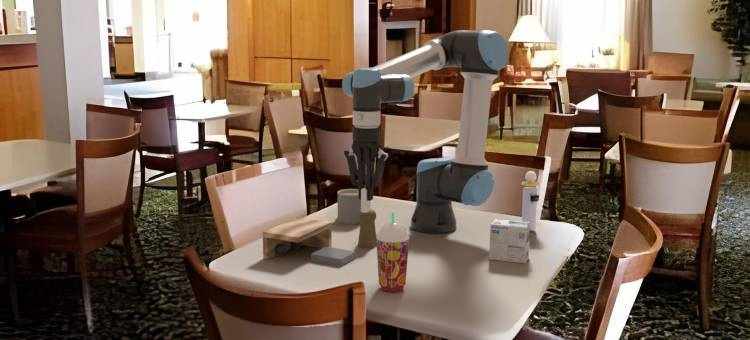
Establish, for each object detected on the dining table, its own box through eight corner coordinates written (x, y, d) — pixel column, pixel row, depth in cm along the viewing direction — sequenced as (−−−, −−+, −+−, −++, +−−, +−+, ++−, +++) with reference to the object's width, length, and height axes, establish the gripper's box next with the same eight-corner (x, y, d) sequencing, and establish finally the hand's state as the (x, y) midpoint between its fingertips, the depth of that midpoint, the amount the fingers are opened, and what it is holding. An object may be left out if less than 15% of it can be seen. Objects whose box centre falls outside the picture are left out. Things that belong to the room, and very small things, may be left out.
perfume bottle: (515, 230, 237) (518, 170, 233) (527, 227, 240) (529, 168, 237) (529, 234, 232) (532, 173, 229) (540, 231, 236) (544, 171, 232)
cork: (375, 248, 217) (375, 213, 214) (355, 247, 218) (355, 211, 216) (379, 242, 222) (379, 208, 220) (360, 241, 224) (360, 207, 221)
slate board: (355, 259, 207) (355, 251, 207) (341, 267, 200) (341, 259, 200) (325, 254, 212) (325, 246, 211) (311, 262, 205) (311, 253, 204)
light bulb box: (529, 257, 210) (531, 221, 207) (526, 264, 203) (528, 227, 201) (492, 253, 213) (494, 217, 211) (488, 260, 207) (489, 223, 205)
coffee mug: (368, 223, 244) (368, 195, 242) (338, 224, 242) (338, 195, 240) (363, 213, 257) (363, 186, 255) (335, 214, 255) (335, 187, 253)
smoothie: (374, 283, 187) (374, 208, 183) (406, 282, 188) (407, 207, 184) (377, 294, 179) (377, 216, 175) (410, 293, 180) (411, 216, 176)
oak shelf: (331, 248, 217) (331, 222, 215) (298, 265, 201) (298, 237, 199) (298, 242, 222) (297, 217, 220) (263, 258, 206) (262, 231, 205)
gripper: (338, 126, 193) (338, 211, 198) (381, 129, 188) (380, 217, 192) (352, 123, 200) (351, 205, 204) (394, 126, 194) (392, 211, 199)
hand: (365, 211), depth 198 cm, fingers closed
